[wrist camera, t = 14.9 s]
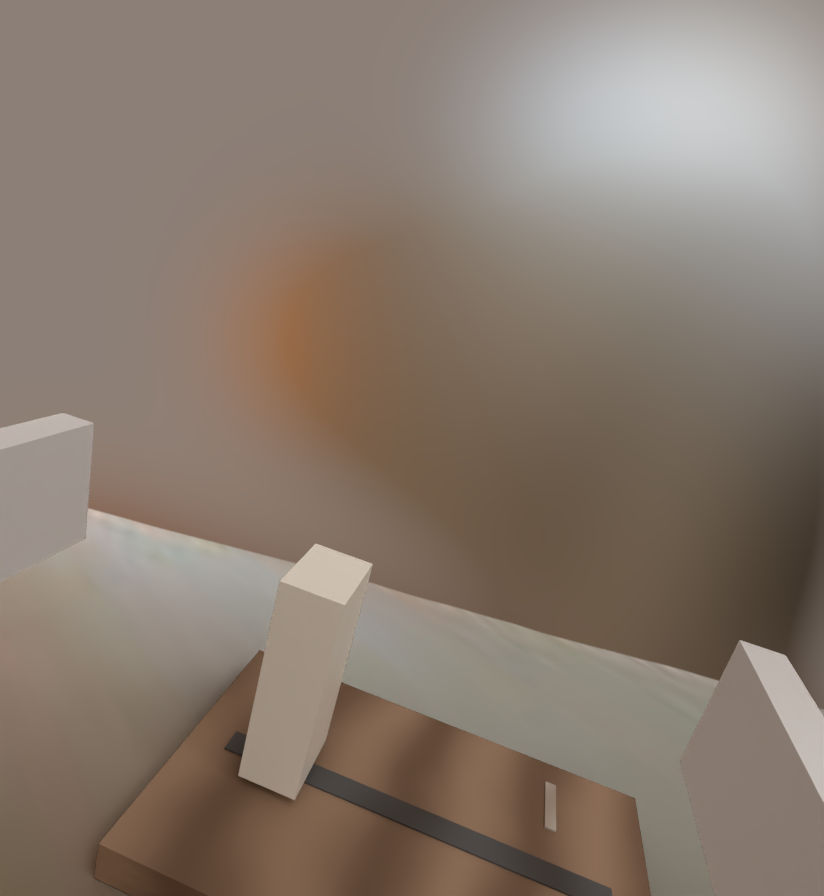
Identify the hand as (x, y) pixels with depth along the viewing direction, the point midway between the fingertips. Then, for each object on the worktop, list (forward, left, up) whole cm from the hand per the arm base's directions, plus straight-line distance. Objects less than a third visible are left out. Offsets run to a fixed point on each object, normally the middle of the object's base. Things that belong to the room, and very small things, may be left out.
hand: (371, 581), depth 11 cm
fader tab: (+4, -13, -19) cm, 23 cm away
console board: (-3, -13, -21) cm, 25 cm away
